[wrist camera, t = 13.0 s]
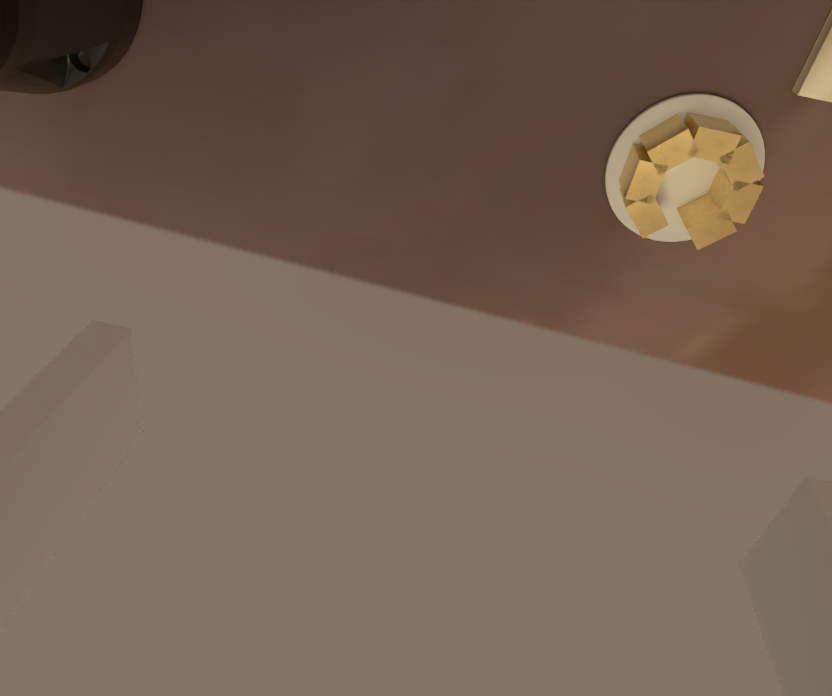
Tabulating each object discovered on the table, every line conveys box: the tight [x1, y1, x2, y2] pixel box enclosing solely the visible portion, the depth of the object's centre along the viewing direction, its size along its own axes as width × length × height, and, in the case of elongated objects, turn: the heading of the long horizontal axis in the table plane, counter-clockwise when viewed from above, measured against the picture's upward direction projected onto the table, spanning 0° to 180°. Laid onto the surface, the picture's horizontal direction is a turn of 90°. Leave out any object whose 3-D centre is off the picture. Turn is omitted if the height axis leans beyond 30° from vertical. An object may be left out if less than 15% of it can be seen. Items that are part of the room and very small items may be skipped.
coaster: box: [605, 93, 765, 242], centre depth 39 cm, size 9×9×1 cm
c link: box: [619, 112, 765, 250], centre depth 37 cm, size 7×7×3 cm
